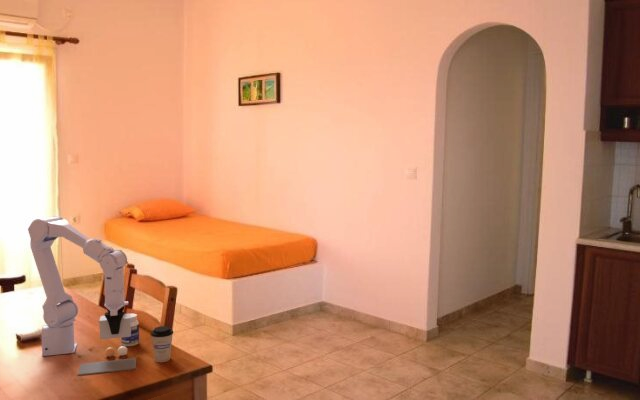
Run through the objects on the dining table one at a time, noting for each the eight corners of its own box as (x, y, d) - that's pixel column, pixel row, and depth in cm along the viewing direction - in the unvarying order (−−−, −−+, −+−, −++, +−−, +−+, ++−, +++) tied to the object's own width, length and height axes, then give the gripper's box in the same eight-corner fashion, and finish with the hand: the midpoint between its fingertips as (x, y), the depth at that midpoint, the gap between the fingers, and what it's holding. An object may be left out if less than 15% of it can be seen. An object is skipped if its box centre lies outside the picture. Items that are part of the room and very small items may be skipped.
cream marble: (117, 357, 171) (117, 348, 170) (117, 354, 173) (117, 345, 173) (127, 356, 172) (127, 347, 171) (127, 353, 174) (127, 344, 174)
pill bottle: (133, 347, 179) (132, 318, 178) (118, 346, 180) (117, 317, 179) (142, 341, 185) (141, 313, 184) (127, 340, 186) (126, 312, 185)
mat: (77, 375, 157) (77, 374, 157) (80, 365, 165) (80, 363, 164) (135, 369, 162) (135, 367, 162) (135, 359, 170) (135, 357, 169)
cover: (100, 339, 167) (99, 320, 167) (101, 334, 172) (100, 315, 172) (130, 336, 170) (130, 318, 170) (130, 331, 175) (130, 313, 174)
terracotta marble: (104, 358, 169) (104, 349, 169) (105, 355, 172) (104, 346, 172) (114, 357, 170) (114, 348, 170) (115, 354, 173) (114, 345, 173)
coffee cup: (153, 355, 173) (153, 325, 172) (175, 354, 173) (175, 324, 172) (148, 364, 166) (148, 332, 165) (171, 363, 166) (171, 332, 165)
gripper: (127, 294, 164) (128, 337, 165) (128, 282, 178) (129, 322, 179) (102, 296, 162) (103, 339, 163) (105, 284, 176) (106, 324, 177)
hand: (115, 330), depth 171 cm, fingers closed on cover, 5 cm apart
